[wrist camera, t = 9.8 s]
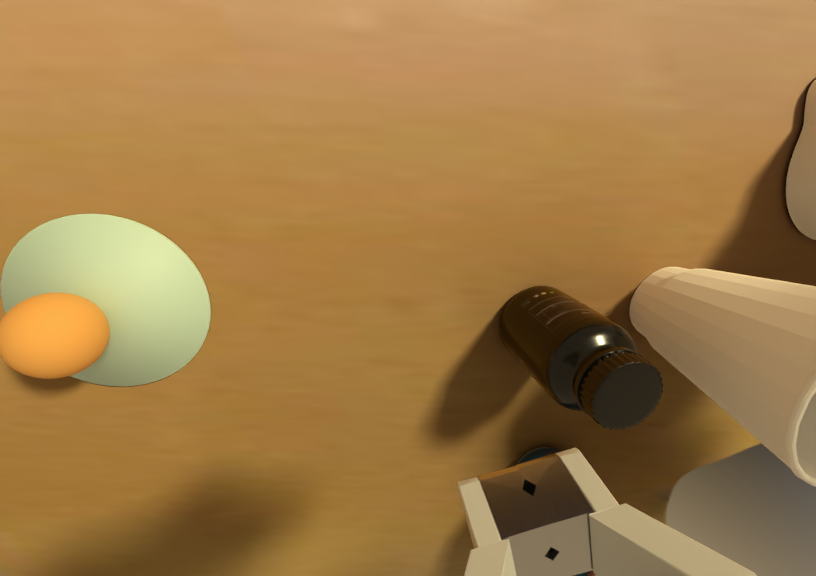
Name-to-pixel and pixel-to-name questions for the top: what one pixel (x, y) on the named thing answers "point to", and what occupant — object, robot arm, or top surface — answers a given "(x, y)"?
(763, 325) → the cup
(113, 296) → the pale green disc
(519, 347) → the supplement bottle
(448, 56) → the top surface
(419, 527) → the top surface
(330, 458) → the top surface
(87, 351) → the ball
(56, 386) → the top surface
